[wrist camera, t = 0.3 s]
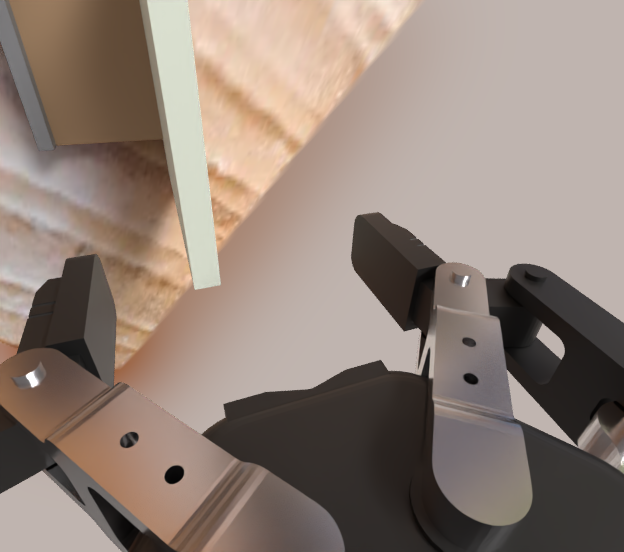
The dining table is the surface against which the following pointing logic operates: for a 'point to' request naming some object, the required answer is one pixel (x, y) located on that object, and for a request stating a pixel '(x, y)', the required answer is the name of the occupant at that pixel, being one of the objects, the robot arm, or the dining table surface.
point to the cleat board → (118, 92)
